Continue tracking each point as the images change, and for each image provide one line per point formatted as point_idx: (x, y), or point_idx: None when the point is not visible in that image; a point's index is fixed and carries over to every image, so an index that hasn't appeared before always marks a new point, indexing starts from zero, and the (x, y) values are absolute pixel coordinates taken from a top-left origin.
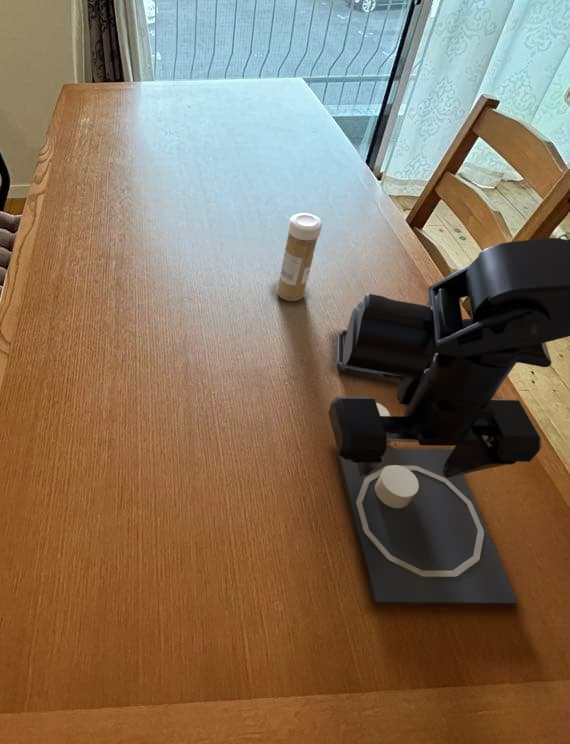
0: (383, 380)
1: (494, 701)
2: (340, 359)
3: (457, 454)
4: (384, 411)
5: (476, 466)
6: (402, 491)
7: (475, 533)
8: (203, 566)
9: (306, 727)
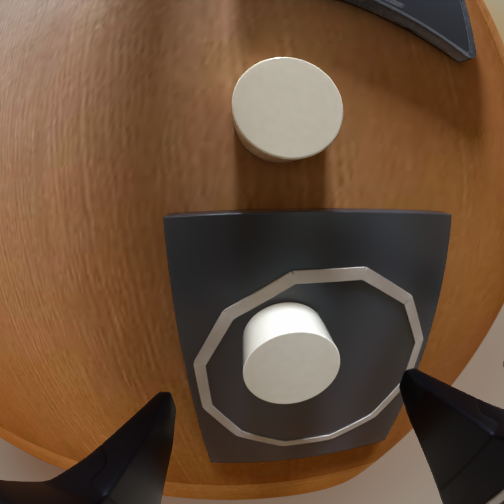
0: (346, 1)
1: (309, 482)
2: None
3: (448, 429)
4: (328, 97)
5: (440, 493)
6: (288, 393)
7: (395, 384)
8: (29, 391)
9: None
